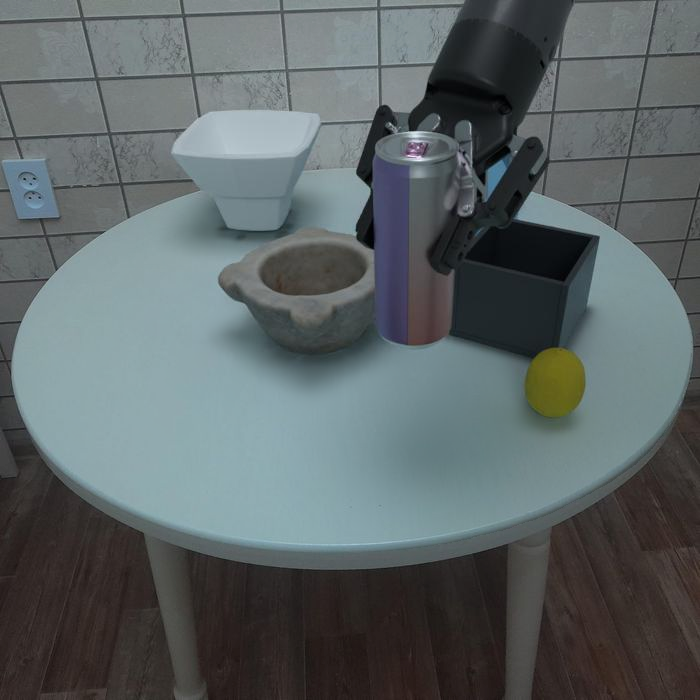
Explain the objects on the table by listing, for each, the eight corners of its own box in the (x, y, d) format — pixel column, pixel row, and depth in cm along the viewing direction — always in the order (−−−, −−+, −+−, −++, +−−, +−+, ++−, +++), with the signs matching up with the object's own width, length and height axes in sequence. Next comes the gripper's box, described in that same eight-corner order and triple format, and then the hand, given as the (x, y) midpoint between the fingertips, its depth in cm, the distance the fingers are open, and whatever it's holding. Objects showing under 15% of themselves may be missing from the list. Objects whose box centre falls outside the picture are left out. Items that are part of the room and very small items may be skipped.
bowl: (331, 198, 115) (327, 110, 106) (307, 256, 99) (301, 158, 91) (217, 194, 117) (205, 108, 109) (177, 250, 102) (159, 154, 93)
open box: (586, 309, 86) (600, 235, 81) (555, 364, 78) (569, 286, 72) (487, 285, 91) (494, 214, 86) (448, 334, 83) (453, 259, 77)
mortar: (214, 335, 84) (202, 266, 79) (320, 280, 93) (316, 215, 88) (312, 398, 74) (306, 324, 69) (419, 330, 84) (421, 260, 78)
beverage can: (368, 348, 55) (363, 158, 47) (383, 307, 60) (382, 128, 51) (446, 356, 54) (456, 163, 45) (455, 314, 59) (466, 132, 50)
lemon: (509, 415, 71) (517, 348, 66) (543, 390, 74) (553, 325, 69) (556, 443, 68) (568, 375, 63) (589, 416, 71) (604, 349, 66)
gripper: (397, 5, 53) (299, 211, 52) (582, 26, 45) (469, 269, 45) (436, 64, 59) (348, 249, 59) (604, 92, 51) (504, 305, 51)
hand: (401, 256), depth 52 cm, fingers closed on beverage can, 6 cm apart
